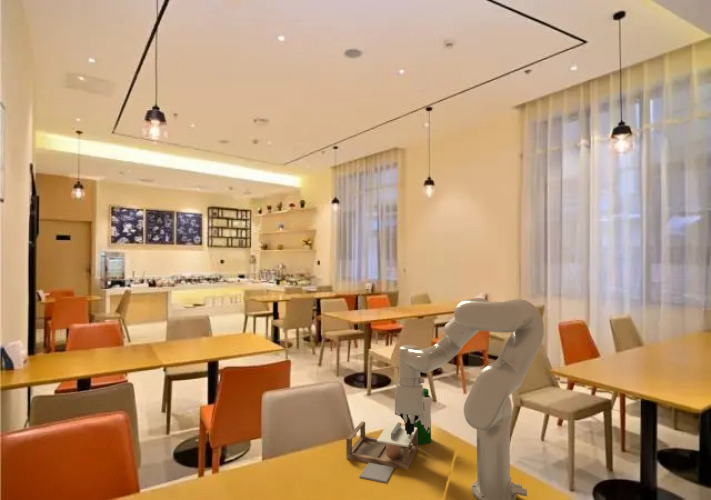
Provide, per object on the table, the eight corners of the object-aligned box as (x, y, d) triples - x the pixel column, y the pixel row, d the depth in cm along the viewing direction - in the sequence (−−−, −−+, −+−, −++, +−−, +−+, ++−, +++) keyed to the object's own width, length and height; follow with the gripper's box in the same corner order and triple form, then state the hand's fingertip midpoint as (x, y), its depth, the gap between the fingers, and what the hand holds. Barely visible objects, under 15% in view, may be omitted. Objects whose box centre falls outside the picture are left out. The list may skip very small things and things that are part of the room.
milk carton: (434, 445, 152) (434, 392, 153) (413, 449, 150) (412, 395, 150) (424, 436, 161) (423, 385, 161) (403, 439, 158) (403, 388, 158)
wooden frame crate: (417, 451, 148) (417, 429, 148) (407, 472, 133) (407, 448, 133) (361, 441, 156) (361, 421, 156) (346, 461, 141) (346, 438, 141)
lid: (417, 429, 148) (417, 422, 148) (408, 447, 134) (408, 439, 134) (388, 425, 152) (388, 418, 152) (376, 442, 138) (376, 434, 138)
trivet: (394, 471, 134) (394, 467, 134) (386, 486, 125) (386, 481, 125) (368, 467, 137) (368, 462, 137) (359, 480, 128) (359, 475, 129)
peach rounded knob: (403, 452, 145) (403, 433, 145) (399, 460, 139) (399, 440, 139) (387, 449, 147) (387, 430, 147) (383, 457, 141) (383, 437, 141)
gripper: (432, 380, 143) (432, 432, 142) (391, 375, 148) (391, 426, 147) (428, 386, 136) (428, 441, 135) (386, 381, 141) (386, 434, 140)
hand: (409, 433), depth 141 cm, fingers closed
